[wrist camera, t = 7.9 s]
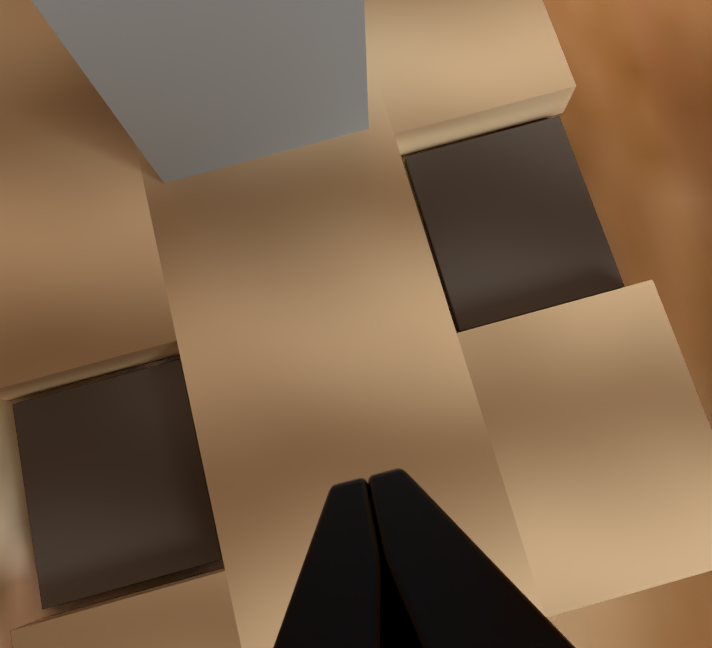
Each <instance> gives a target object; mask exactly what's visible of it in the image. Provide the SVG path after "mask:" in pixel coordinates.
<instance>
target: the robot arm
mask: <svg viewBox="0 0 712 648" xmlns="http://www.w3.org/2000/svg"><path fill="white" fill-rule="evenodd" d="M368 484H369V485H368ZM273 648H575V647H574V646H573V645H572V644H571V643H570V642H569V641H568V639H567V638H566V637H565V636H564V635H563V634H562V633H561V632H560V631H559V630H558V629H557V628H556V627H555V626H554V625H553V624H552V623H551V622H550V621H549V620H548V619H547V618H546V617H545V616H544V615H543V613H542V612H541V611H540V610H539V609H538V608H537V607H536V606H535V605H534V604H533V603H532V602H531V601H530V600H529V599H528V598H527V597H526V596H525V595H524V594H523V593H522V592H521V591H520V590H519V588H518V587H517V586H516V585H515V584H514V583H513V582H512V581H511V580H510V579H509V578H508V577H507V576H506V575H505V574H504V573H503V572H502V571H501V570H500V569H499V568H498V567H497V566H496V565H495V563H494V562H493V561H492V560H491V559H490V558H489V557H488V556H487V555H486V554H485V553H484V552H483V551H482V550H481V549H480V548H479V547H478V546H477V545H476V544H475V543H474V542H473V541H472V540H471V539H470V537H469V536H468V535H467V534H466V533H465V532H464V531H463V530H462V529H461V528H460V527H459V526H458V525H457V524H456V523H455V522H454V521H453V520H452V519H451V518H450V517H449V516H448V515H447V514H446V512H445V511H444V510H443V509H442V508H441V507H440V506H439V505H438V504H437V503H436V502H435V501H434V500H433V499H432V498H431V497H430V496H429V495H428V494H427V493H426V492H425V491H424V490H423V489H422V487H421V486H420V485H419V484H418V483H417V482H416V481H415V480H414V479H413V478H412V477H411V476H410V475H409V474H408V473H407V472H406V471H405V470H403V469H401V468H396V469H392V470H388V471H384V472H380V473H376V474H373V475H371V476H370V477H369V479H368V482H367V480H366V479H364V478H357V479H353V480H349V481H345V482H341V483H337V484H334V485H333V486H332V487H331V488H330V490H329V492H328V495H327V498H326V500H325V503H324V506H323V509H322V512H321V515H320V517H319V520H318V523H317V526H316V529H315V531H314V534H313V537H312V540H311V543H310V545H309V548H308V551H307V554H306V557H305V560H304V562H303V565H302V568H301V571H300V574H299V576H298V579H297V582H296V585H295V588H294V590H293V593H292V596H291V599H290V602H289V605H288V607H287V610H286V613H285V616H284V619H283V621H282V624H281V627H280V630H279V633H278V635H277V638H276V641H275V644H274V647H273Z"/></svg>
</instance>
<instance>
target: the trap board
mask: <svg viewBox="0 0 712 648" xmlns="http://www.w3.org/2000/svg"><path fill="white" fill-rule="evenodd" d="M364 10H365V38H366V65H367V92H368V119H369V129H366V130H362V131H359V132H355V133H351V134H347V135H344V136H340V137H336V138H332V139H329V140H325V141H321V142H317V143H314V144H310V145H306V146H302V147H298V148H295V149H291V150H287V151H283V152H280V153H276V154H272V155H268V156H265V157H261V158H257V159H253V160H250V161H246V162H242V163H238V164H235V165H231V166H227V167H223V168H220V169H216V170H212V171H208V172H205V173H201V174H197V175H193V176H189V177H186V178H182V179H178V180H174V181H171V182H167V183H163V181H162V180H161V178H160V177H159V176H158V174H157V173H156V172H155V170H154V169H153V167H152V166H151V165H150V163H149V162H148V161H147V159H146V158H145V156H144V155H143V154H142V152H141V151H140V149H139V148H138V147H137V145H136V144H135V143H134V141H133V140H132V138H131V137H130V136H129V134H128V133H127V132H126V130H125V129H124V127H123V126H122V125H121V123H120V122H119V120H118V119H117V118H116V116H115V115H114V114H113V112H112V111H111V109H110V108H109V107H108V105H107V104H106V103H105V101H104V100H103V98H102V97H101V96H100V94H99V93H98V92H97V90H96V89H95V87H94V86H93V85H92V83H91V82H90V80H89V79H88V78H87V76H86V75H85V74H84V72H83V71H82V69H81V68H80V67H79V65H78V64H77V63H76V61H75V60H74V58H73V57H72V56H71V54H70V53H69V51H68V50H67V49H66V47H65V46H64V45H63V43H62V42H61V40H60V39H59V38H58V36H57V35H56V34H55V32H54V31H53V29H52V28H51V27H50V25H49V24H48V23H47V21H46V20H45V18H44V17H43V16H42V14H41V13H40V11H39V10H38V9H37V7H36V6H35V5H34V3H33V2H32V0H0V399H3V400H7V401H8V400H12V399H16V398H19V397H23V396H27V395H30V394H34V393H38V392H42V391H45V390H49V389H53V388H56V387H60V386H64V385H67V384H71V383H75V382H78V381H82V380H86V379H90V378H93V377H97V376H101V375H104V374H108V373H112V372H115V371H119V370H123V369H126V368H130V367H134V366H138V365H141V364H145V363H149V362H152V361H156V360H160V359H163V358H167V357H171V356H174V355H178V354H180V358H181V360H180V359H179V360H175V361H171V362H168V363H164V364H160V365H156V366H153V367H149V368H145V369H142V370H138V371H134V372H131V373H127V374H123V375H120V376H116V377H112V378H109V379H105V380H101V381H97V382H94V383H90V384H86V385H83V386H79V387H75V388H72V389H68V390H64V391H61V392H57V393H53V394H49V395H46V396H42V397H38V398H35V399H31V400H27V401H24V402H20V403H16V404H13V411H14V418H15V425H16V432H17V439H18V446H19V452H20V459H21V466H22V473H23V480H24V486H25V493H26V500H27V507H28V514H29V521H30V527H31V534H32V541H33V548H34V555H35V562H36V568H37V575H38V582H39V589H40V596H41V602H42V609H45V608H49V607H53V606H56V605H60V604H63V603H67V602H71V601H74V600H78V599H81V598H85V597H88V596H92V595H96V594H99V593H103V592H106V591H110V590H114V589H117V588H121V587H124V586H128V585H131V584H135V583H139V582H142V581H146V580H149V579H153V578H157V577H160V576H164V575H167V574H171V573H174V572H178V571H182V570H185V569H189V568H192V567H196V566H199V565H203V564H207V563H210V562H214V561H217V560H221V559H223V563H224V567H225V568H221V569H218V570H214V571H211V572H207V573H204V574H200V575H196V576H193V577H189V578H186V579H182V580H178V581H175V582H171V583H168V584H164V585H161V586H157V587H153V588H150V589H146V590H143V591H139V592H136V593H132V594H128V595H125V596H121V597H118V598H114V599H111V600H107V601H103V602H100V603H96V604H93V605H89V606H85V607H82V608H78V609H75V610H71V611H68V612H64V613H60V614H57V615H53V616H50V617H46V618H43V619H39V620H37V621H34V622H32V623H29V624H26V625H24V626H21V627H19V628H16V629H14V630H11V631H10V633H11V641H12V648H273V647H274V644H275V641H276V638H277V635H278V633H279V630H280V627H281V624H282V621H283V619H284V616H285V613H286V610H287V607H288V605H289V602H290V599H291V596H292V593H293V590H294V588H295V585H296V582H297V579H298V576H299V574H300V571H301V568H302V565H303V562H304V560H305V557H306V554H307V551H308V548H309V545H310V543H311V540H312V537H313V534H314V531H315V529H316V526H317V523H318V520H319V517H320V515H321V512H322V509H323V506H324V503H325V500H326V498H327V495H328V492H329V490H330V488H331V487H332V486H333V485H334V484H337V483H341V482H345V481H349V480H353V479H357V478H364V479H366V480H367V482H368V479H369V477H370V476H371V475H373V474H376V473H380V472H384V471H388V470H392V469H396V468H401V469H403V470H405V471H406V472H407V473H408V474H409V475H410V476H411V477H412V478H413V479H414V480H415V481H416V482H417V483H418V484H419V485H420V486H421V487H422V489H423V490H424V491H425V492H426V493H427V494H428V495H429V496H430V497H431V498H432V499H433V500H434V501H435V502H436V503H437V504H438V505H439V506H440V507H441V508H442V509H443V510H444V511H445V512H446V514H447V515H448V516H449V517H450V518H451V519H452V520H453V521H454V522H455V523H456V524H457V525H458V526H459V527H460V528H461V529H462V530H463V531H464V532H465V533H466V534H467V535H468V536H469V537H470V539H471V540H472V541H473V542H474V543H475V544H476V545H477V546H478V547H479V548H480V549H481V550H482V551H483V552H484V553H485V554H486V555H487V556H488V557H489V558H490V559H491V560H492V561H493V562H494V563H495V565H496V566H497V567H498V568H499V569H500V570H501V571H502V572H503V573H504V574H505V575H506V576H507V577H508V578H509V579H510V580H511V581H512V582H513V583H514V584H515V585H516V586H517V587H518V588H519V590H520V591H521V592H522V593H523V594H524V595H525V596H526V597H527V598H528V599H529V600H530V601H531V602H532V603H533V604H534V605H535V606H536V607H537V608H538V609H539V610H540V611H541V612H542V613H543V615H544V616H545V617H546V618H547V617H550V616H554V615H557V614H561V613H564V612H568V611H571V610H575V609H578V608H582V607H585V606H589V605H592V604H596V603H599V602H603V601H606V600H610V599H613V598H617V597H620V596H624V595H627V594H631V593H634V592H638V591H641V590H645V589H648V588H652V587H655V586H659V585H662V584H666V583H669V582H673V581H676V580H680V579H683V578H687V577H690V576H694V575H697V574H701V573H704V572H708V571H712V429H711V427H710V424H709V422H708V419H707V417H706V414H705V411H704V409H703V406H702V404H701V401H700V399H699V396H698V394H697V391H696V389H695V386H694V384H693V381H692V378H691V376H690V373H689V371H688V368H687V366H686V363H685V361H684V358H683V356H682V353H681V351H680V348H679V345H678V343H677V340H676V338H675V335H674V333H673V330H672V328H671V325H670V323H669V320H668V318H667V315H666V313H665V310H664V307H663V305H662V302H661V300H660V297H659V295H658V292H657V290H656V287H655V285H654V282H653V280H649V281H645V282H642V283H638V284H634V285H631V286H627V287H623V286H624V284H623V281H622V279H621V276H620V274H619V271H618V268H617V266H616V263H615V260H614V258H613V255H612V253H611V250H610V247H609V245H608V242H607V240H606V237H605V234H604V232H603V229H602V227H601V224H600V221H599V219H598V216H597V213H596V211H595V208H594V206H593V203H592V200H591V198H590V195H589V193H588V190H587V187H586V185H585V182H584V179H583V177H582V174H581V172H580V169H579V166H578V164H577V161H576V159H575V156H574V153H573V151H572V148H571V146H570V143H569V140H568V138H567V135H566V132H565V130H564V127H563V125H562V122H561V119H560V117H559V116H557V117H554V118H550V119H546V120H542V121H539V122H535V123H531V124H527V125H524V126H520V127H516V128H512V129H508V130H505V131H501V132H497V133H493V134H490V135H486V136H482V137H478V138H475V139H471V140H467V141H463V142H460V143H456V144H452V145H448V146H444V147H441V148H437V149H433V150H429V151H426V152H422V153H418V154H414V155H411V156H407V157H405V164H406V168H407V171H408V174H409V177H410V180H411V183H412V187H413V190H414V193H415V196H416V199H417V203H418V206H419V209H420V212H421V215H422V218H423V222H424V225H425V228H426V231H427V234H428V237H429V241H430V244H431V247H432V250H433V253H434V257H435V260H436V263H437V266H438V269H439V272H440V276H441V279H442V282H443V285H444V288H445V291H446V295H447V298H448V301H449V304H450V307H451V310H452V314H453V317H454V320H455V323H456V326H457V330H458V333H456V330H455V327H454V323H453V320H452V317H451V314H450V311H449V307H448V304H447V301H446V298H445V295H444V292H443V288H442V285H441V282H440V279H439V276H438V272H437V269H436V266H435V263H434V260H433V257H432V253H431V250H430V247H429V244H428V241H427V237H426V234H425V231H424V228H423V225H422V222H421V218H420V215H419V212H418V209H417V206H416V202H415V199H414V196H413V193H412V190H411V186H410V183H409V180H408V177H407V174H406V171H405V167H404V164H403V161H402V158H401V156H403V155H407V154H410V153H414V152H418V151H422V150H426V149H429V148H433V147H437V146H441V145H444V144H448V143H452V142H456V141H459V140H463V139H467V138H471V137H475V136H478V135H482V134H486V133H490V132H493V131H497V130H501V129H505V128H508V127H512V126H516V125H520V124H524V123H527V122H531V121H535V120H539V119H542V118H546V117H550V116H554V115H557V114H561V113H563V112H564V110H565V108H566V106H567V104H568V102H569V100H570V98H571V96H572V94H573V92H574V89H575V87H576V84H575V82H574V79H573V77H572V74H571V72H570V69H569V66H568V64H567V61H566V59H565V56H564V54H563V51H562V49H561V46H560V44H559V41H558V39H557V36H556V33H555V31H554V28H553V26H552V23H551V21H550V18H549V16H548V13H547V11H546V8H545V6H544V3H543V0H364ZM622 287H623V288H622ZM368 485H369V484H368Z"/></svg>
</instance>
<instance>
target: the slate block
mask: <svg viewBox="0 0 712 648" xmlns="http://www.w3.org/2000/svg"><path fill="white" fill-rule="evenodd" d="M32 2H33V3H34V5H35V6H36V7H37V9H38V10H39V11H40V13H41V14H42V16H43V17H44V18H45V20H46V21H47V23H48V24H49V25H50V27H51V28H52V29H53V31H54V32H55V34H56V35H57V36H58V38H59V39H60V40H61V42H62V43H63V45H64V46H65V47H66V49H67V50H68V51H69V53H70V54H71V56H72V57H73V58H74V60H75V61H76V63H77V64H78V65H79V67H80V68H81V69H82V71H83V72H84V74H85V75H86V76H87V78H88V79H89V80H90V82H91V83H92V85H93V86H94V87H95V89H96V90H97V92H98V93H99V94H100V96H101V97H102V98H103V100H104V101H105V103H106V104H107V105H108V107H109V108H110V109H111V111H112V112H113V114H114V115H115V116H116V118H117V119H118V120H119V122H120V123H121V125H122V126H123V127H124V129H125V130H126V132H127V133H128V134H129V136H130V137H131V138H132V140H133V141H134V143H135V144H136V145H137V147H138V148H139V149H140V151H141V152H142V154H143V155H144V156H145V158H146V159H147V161H148V162H149V163H150V165H151V166H152V167H153V169H154V170H155V172H156V173H157V174H158V176H159V177H160V178H161V180H162V181H163V183H167V182H171V181H174V180H178V179H182V178H186V177H189V176H193V175H197V174H201V173H205V172H208V171H212V170H216V169H220V168H223V167H227V166H231V165H235V164H238V163H242V162H246V161H250V160H253V159H257V158H261V157H265V156H268V155H272V154H276V153H280V152H283V151H287V150H291V149H295V148H298V147H302V146H306V145H310V144H314V143H317V142H321V141H325V140H329V139H332V138H336V137H340V136H344V135H347V134H351V133H355V132H359V131H362V130H366V129H369V119H368V92H367V65H366V38H365V10H364V0H32Z"/></svg>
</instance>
